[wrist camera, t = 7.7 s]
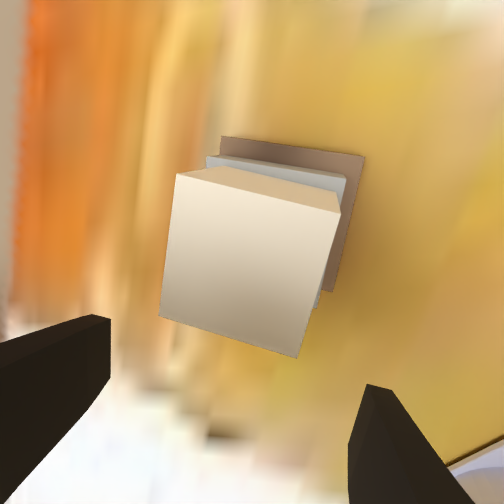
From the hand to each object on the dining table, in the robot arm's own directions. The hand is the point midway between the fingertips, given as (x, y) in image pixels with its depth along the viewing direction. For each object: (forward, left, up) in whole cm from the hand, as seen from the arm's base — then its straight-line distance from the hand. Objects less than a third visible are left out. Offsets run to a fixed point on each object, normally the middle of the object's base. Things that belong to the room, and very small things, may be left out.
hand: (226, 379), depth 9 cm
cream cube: (+2, -2, -6) cm, 6 cm away
